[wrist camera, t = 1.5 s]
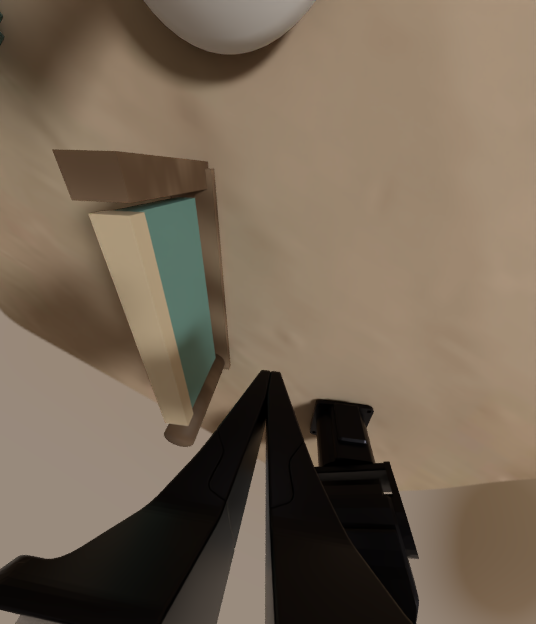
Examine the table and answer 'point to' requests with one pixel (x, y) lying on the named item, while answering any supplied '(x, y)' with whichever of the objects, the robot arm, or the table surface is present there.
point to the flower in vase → (229, 21)
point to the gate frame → (149, 185)
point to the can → (0, 36)
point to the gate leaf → (162, 295)
